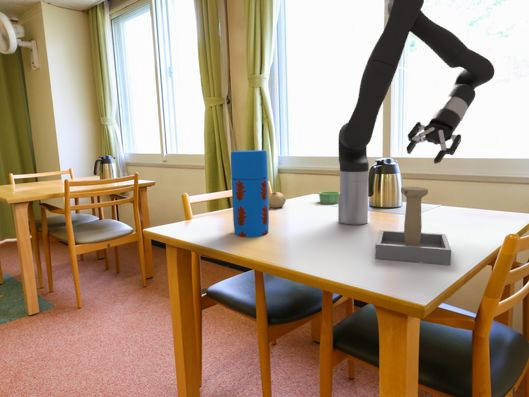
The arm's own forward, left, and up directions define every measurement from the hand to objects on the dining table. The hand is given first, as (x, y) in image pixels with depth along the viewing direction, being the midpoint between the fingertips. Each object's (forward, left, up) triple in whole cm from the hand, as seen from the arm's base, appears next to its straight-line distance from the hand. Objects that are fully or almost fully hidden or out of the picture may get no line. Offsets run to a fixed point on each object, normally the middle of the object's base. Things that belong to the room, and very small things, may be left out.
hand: (421, 157), depth 113 cm
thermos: (-48, -19, -22) cm, 56 cm away
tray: (-2, -27, -22) cm, 35 cm away
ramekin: (-35, +38, -22) cm, 56 cm away
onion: (-54, +22, -22) cm, 63 cm away
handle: (-2, -27, -21) cm, 34 cm away
